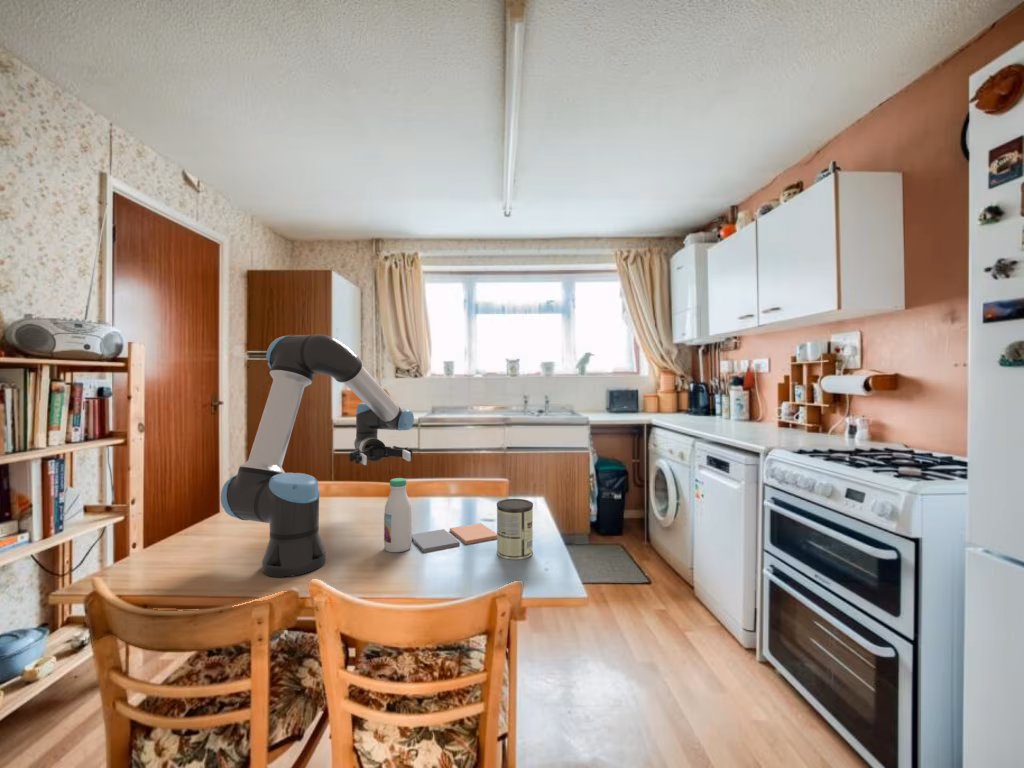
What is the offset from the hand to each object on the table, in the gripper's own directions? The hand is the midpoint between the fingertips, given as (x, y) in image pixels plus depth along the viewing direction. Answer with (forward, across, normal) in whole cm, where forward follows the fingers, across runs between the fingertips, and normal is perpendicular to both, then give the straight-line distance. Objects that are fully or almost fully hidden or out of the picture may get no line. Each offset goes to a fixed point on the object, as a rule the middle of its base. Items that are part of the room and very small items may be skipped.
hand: (387, 458), depth 142 cm
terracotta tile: (+12, -24, -24) cm, 36 cm away
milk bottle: (+12, 0, -24) cm, 27 cm away
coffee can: (+31, -28, -24) cm, 48 cm away
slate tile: (+12, -11, -24) cm, 29 cm away
